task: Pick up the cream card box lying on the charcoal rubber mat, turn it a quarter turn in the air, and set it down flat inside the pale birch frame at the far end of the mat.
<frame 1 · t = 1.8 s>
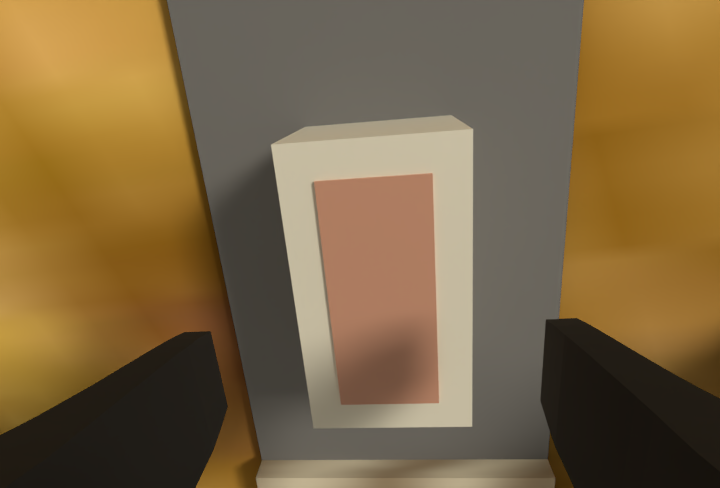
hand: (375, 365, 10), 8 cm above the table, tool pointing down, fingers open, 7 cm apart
mat: (395, 379, 19), on the table
card box: (385, 244, 17), resting on mat
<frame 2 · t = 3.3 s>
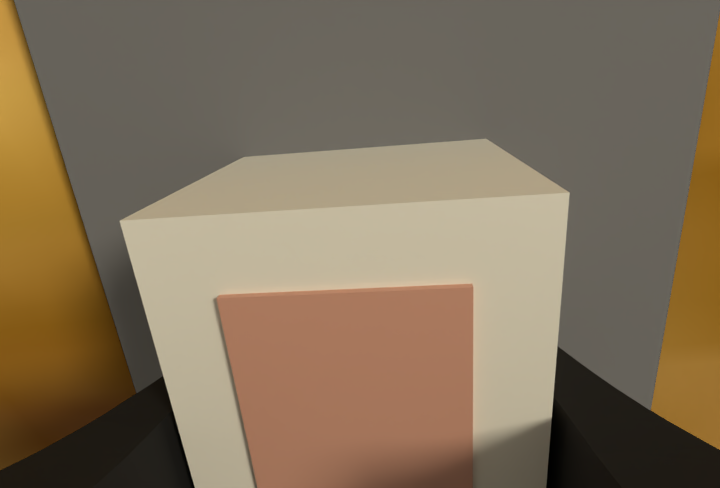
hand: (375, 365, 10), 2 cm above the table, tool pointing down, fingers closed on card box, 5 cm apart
card box: (377, 337, 11), resting on mat, touching gripper
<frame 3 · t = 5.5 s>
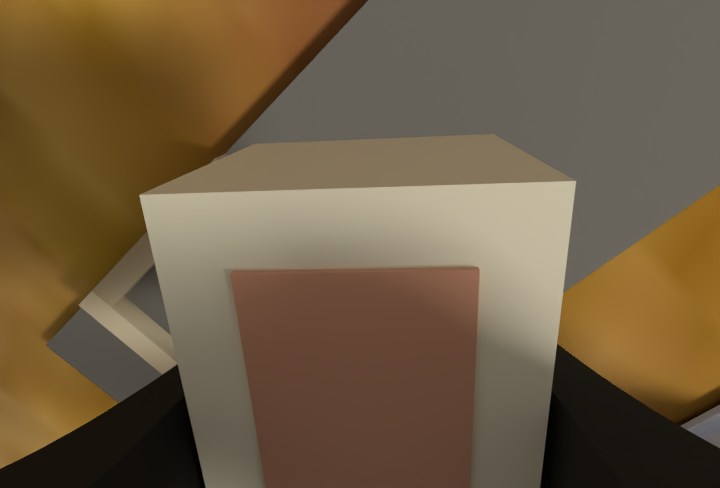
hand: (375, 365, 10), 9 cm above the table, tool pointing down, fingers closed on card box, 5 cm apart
mat: (417, 204, 17), on the table
frame: (270, 333, 19), resting on mat
card box: (378, 327, 11), point 8 cm above the table, touching gripper
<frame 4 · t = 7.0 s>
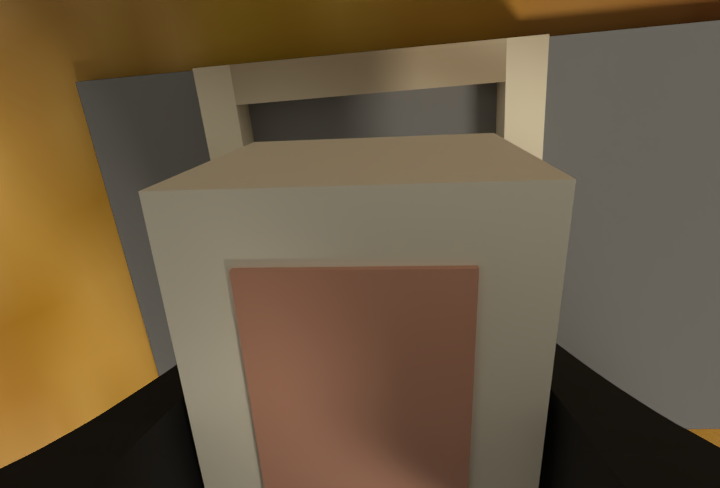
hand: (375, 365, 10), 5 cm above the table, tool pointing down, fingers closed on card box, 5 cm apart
mat: (653, 253, 14), on the table
frame: (382, 272, 14), resting on mat
card box: (378, 326, 11), point 4 cm above the table, touching gripper
when the fingers open (3 cm above the table, at t = 8.1 s): card box drops 1 cm, resting on mat.
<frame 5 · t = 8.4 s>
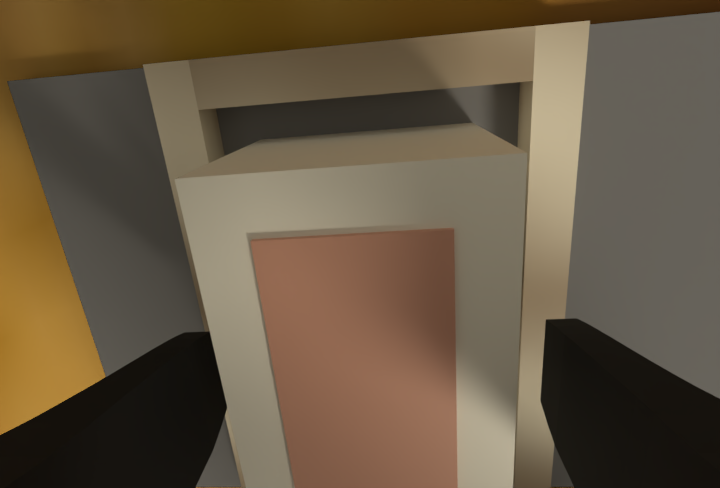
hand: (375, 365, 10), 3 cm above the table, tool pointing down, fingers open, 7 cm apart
mat: (702, 285, 12), on the table
frame: (379, 307, 12), resting on mat
card box: (377, 301, 12), resting on mat
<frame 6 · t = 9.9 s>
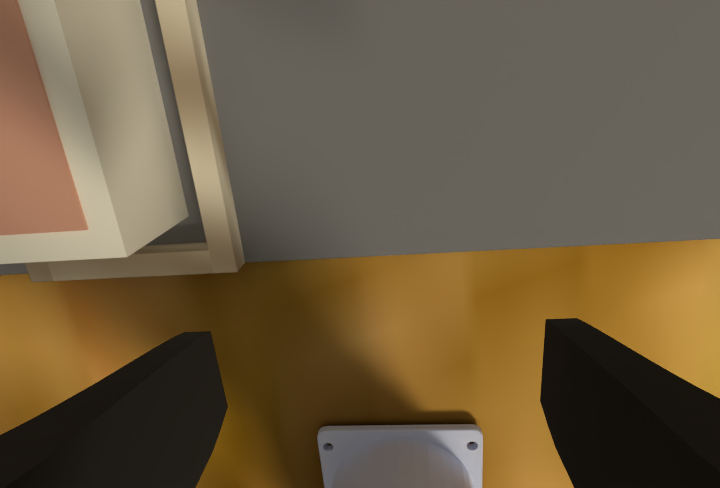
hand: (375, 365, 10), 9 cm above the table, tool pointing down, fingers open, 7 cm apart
mat: (322, 93, 17), on the table
frame: (102, 112, 17), resting on mat
card box: (100, 107, 17), resting on mat
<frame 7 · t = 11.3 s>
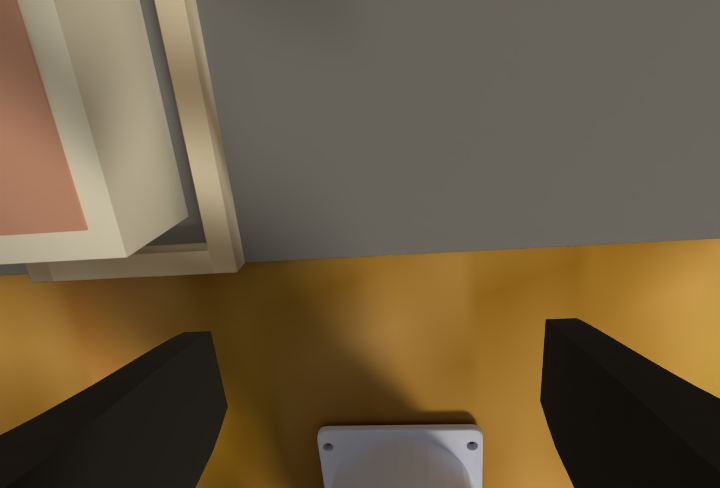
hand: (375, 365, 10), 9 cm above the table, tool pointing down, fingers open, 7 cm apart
mat: (322, 93, 17), on the table
frame: (102, 112, 17), resting on mat
card box: (100, 108, 17), resting on mat
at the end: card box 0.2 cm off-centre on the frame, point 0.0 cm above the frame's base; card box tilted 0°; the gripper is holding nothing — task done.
